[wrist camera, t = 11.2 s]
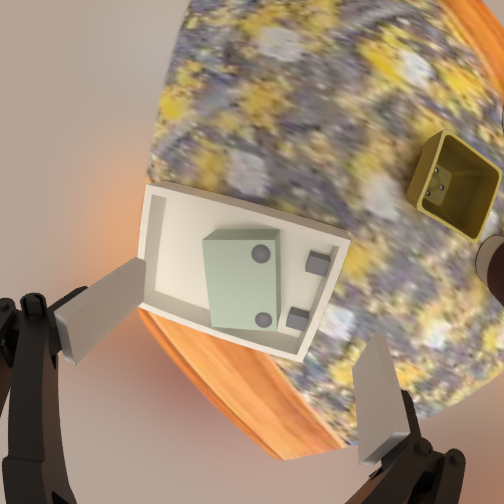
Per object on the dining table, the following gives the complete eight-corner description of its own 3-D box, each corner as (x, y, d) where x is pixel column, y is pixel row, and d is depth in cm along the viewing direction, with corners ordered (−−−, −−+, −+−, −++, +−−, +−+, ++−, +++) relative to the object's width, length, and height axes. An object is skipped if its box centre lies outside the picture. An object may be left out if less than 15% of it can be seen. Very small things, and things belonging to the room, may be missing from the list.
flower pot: (389, 197, 31) (415, 208, 22) (413, 134, 28) (444, 126, 19) (442, 226, 30) (476, 246, 22) (465, 167, 27) (503, 171, 19)
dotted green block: (215, 229, 35) (201, 240, 30) (279, 229, 34) (274, 240, 29) (223, 307, 38) (211, 327, 34) (281, 310, 37) (276, 332, 32)
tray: (165, 180, 36) (146, 184, 31) (345, 230, 33) (351, 240, 28) (151, 290, 41) (135, 305, 37) (303, 341, 39) (301, 362, 34)
